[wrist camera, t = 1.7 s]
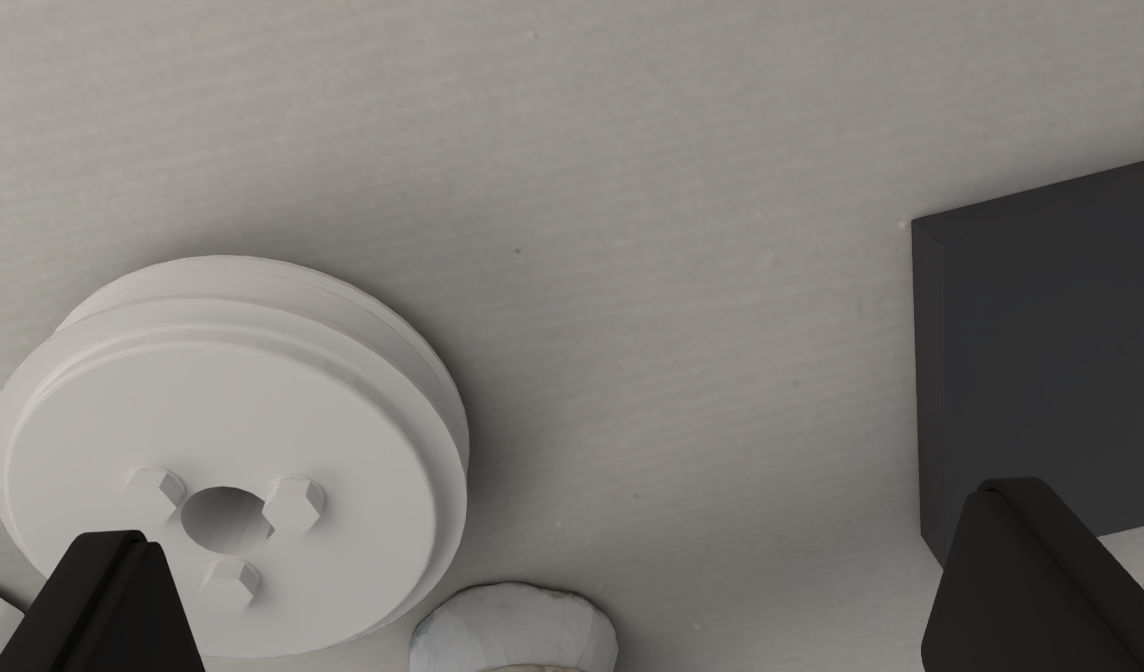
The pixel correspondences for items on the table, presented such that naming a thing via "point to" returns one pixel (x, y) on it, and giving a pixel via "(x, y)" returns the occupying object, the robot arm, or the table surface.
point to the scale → (1033, 350)
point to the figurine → (514, 633)
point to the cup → (8, 622)
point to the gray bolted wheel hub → (244, 448)
